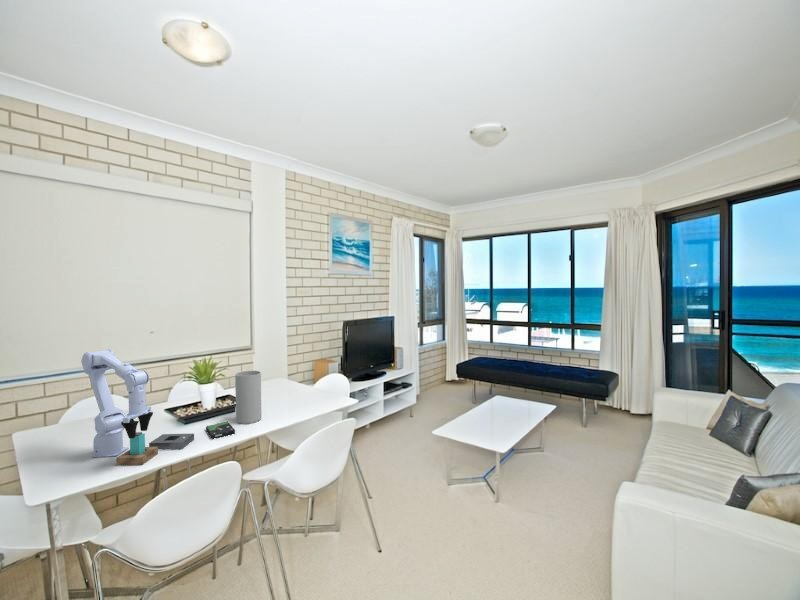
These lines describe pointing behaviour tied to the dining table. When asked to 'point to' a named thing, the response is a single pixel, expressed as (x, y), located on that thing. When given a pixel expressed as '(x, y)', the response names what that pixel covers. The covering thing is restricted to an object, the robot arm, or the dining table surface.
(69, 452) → the dining table surface
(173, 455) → the dining table surface
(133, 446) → the plug
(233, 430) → the disk drive
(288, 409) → the dining table surface
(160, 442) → the port block
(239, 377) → the cylinder vase
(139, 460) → the tan square ring
